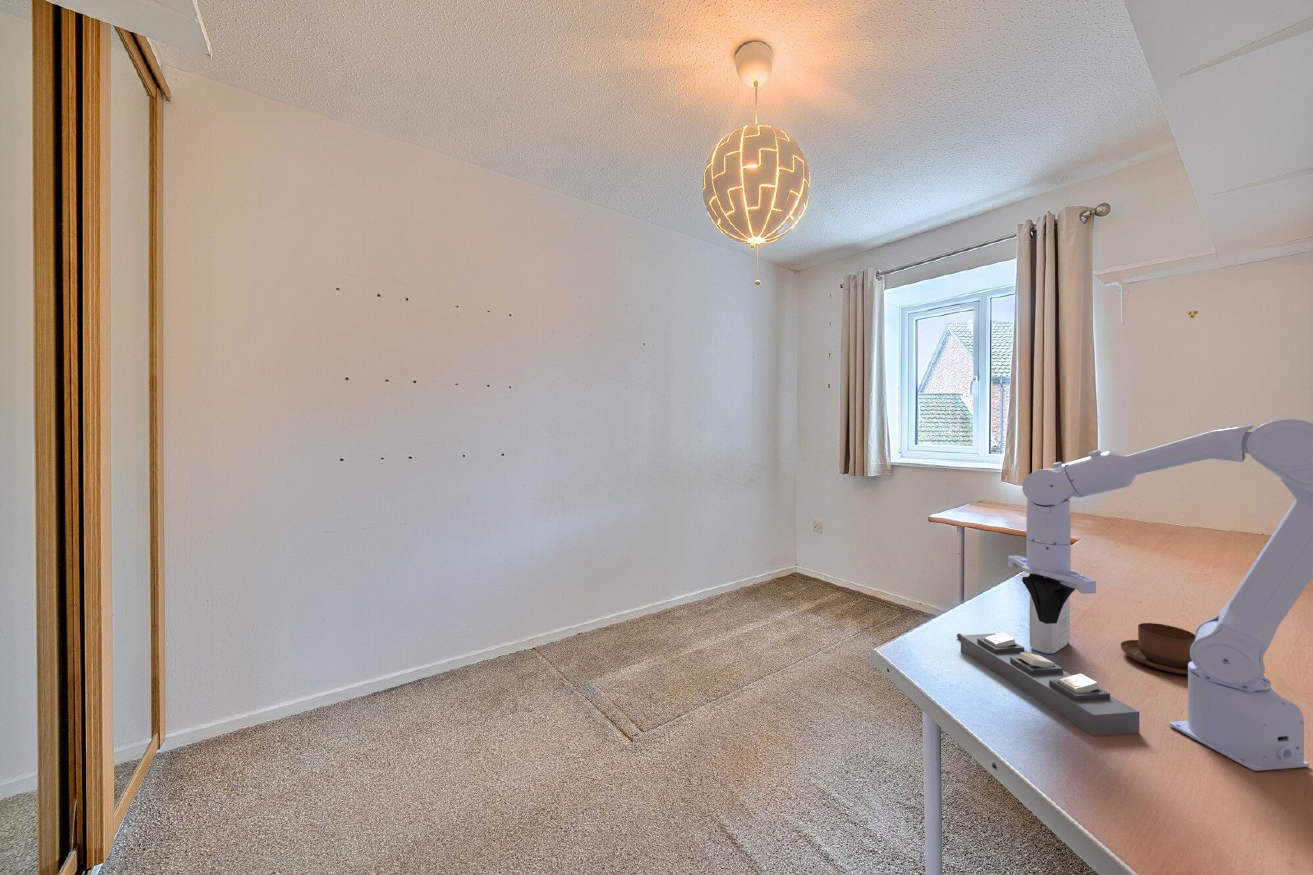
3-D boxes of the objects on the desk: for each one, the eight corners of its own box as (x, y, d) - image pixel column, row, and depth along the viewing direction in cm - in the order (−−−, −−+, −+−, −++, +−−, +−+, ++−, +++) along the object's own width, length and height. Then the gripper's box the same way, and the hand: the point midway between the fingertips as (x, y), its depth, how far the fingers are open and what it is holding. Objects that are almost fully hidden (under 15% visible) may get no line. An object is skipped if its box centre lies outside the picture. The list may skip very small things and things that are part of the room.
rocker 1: (1015, 643, 87) (1014, 638, 86) (997, 649, 86) (995, 643, 86) (1003, 637, 89) (1002, 632, 89) (985, 642, 89) (984, 637, 89)
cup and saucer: (1182, 653, 91) (1182, 620, 91) (1239, 686, 79) (1240, 649, 79) (1105, 646, 94) (1105, 615, 94) (1149, 677, 82) (1149, 642, 82)
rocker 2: (1098, 688, 72) (1097, 681, 72) (1076, 695, 71) (1075, 688, 71) (1081, 679, 74) (1080, 673, 74) (1060, 685, 74) (1059, 679, 74)
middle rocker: (1052, 668, 79) (1053, 662, 79) (1032, 665, 79) (1033, 659, 79) (1038, 661, 82) (1039, 654, 82) (1019, 657, 81) (1020, 651, 81)
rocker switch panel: (1139, 732, 68) (1139, 705, 68) (1093, 736, 67) (1093, 709, 67) (973, 636, 99) (973, 618, 99) (941, 638, 98) (941, 619, 98)
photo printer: (1046, 635, 99) (1046, 575, 99) (1073, 642, 95) (1072, 580, 95) (1026, 648, 93) (1025, 585, 93) (1053, 657, 90) (1053, 591, 90)
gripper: (992, 532, 87) (992, 606, 87) (1065, 553, 73) (1065, 642, 73) (1028, 531, 88) (1028, 605, 88) (1109, 551, 73) (1108, 640, 73)
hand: (1047, 621), depth 80 cm, fingers closed
